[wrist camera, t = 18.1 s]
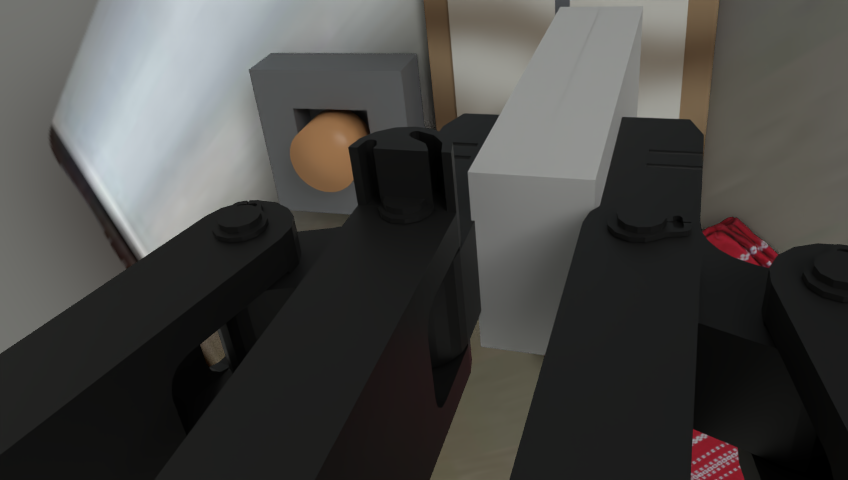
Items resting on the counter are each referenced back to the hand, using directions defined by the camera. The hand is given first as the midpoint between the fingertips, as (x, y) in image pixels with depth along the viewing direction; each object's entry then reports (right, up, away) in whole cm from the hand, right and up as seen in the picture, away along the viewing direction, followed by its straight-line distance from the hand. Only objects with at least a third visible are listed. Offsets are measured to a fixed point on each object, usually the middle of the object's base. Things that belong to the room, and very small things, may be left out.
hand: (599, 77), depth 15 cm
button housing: (-8, +4, +36) cm, 37 cm away
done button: (-9, +3, +35) cm, 36 cm away
